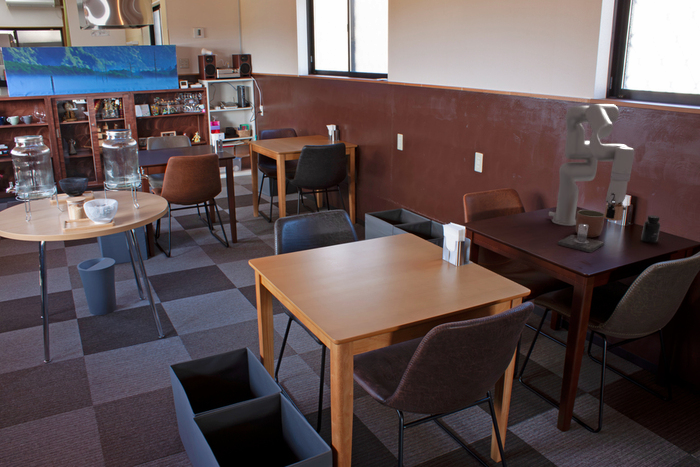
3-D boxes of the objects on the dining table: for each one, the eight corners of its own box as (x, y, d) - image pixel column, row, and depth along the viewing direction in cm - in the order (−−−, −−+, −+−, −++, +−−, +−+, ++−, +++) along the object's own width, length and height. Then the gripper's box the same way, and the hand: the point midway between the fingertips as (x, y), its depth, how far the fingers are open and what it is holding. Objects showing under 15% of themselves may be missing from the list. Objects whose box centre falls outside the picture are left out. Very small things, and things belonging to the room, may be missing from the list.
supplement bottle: (655, 244, 252) (660, 219, 248) (639, 241, 256) (644, 216, 252) (658, 240, 257) (663, 216, 253) (642, 237, 261) (646, 213, 257)
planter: (607, 237, 261) (611, 215, 258) (587, 240, 257) (590, 217, 253) (587, 230, 272) (591, 208, 269) (568, 232, 268) (571, 211, 264)
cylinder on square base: (557, 244, 250) (560, 224, 247) (571, 237, 260) (574, 218, 257) (590, 252, 240) (593, 232, 237) (603, 245, 250) (607, 225, 247)
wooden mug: (601, 218, 238) (603, 204, 236) (607, 214, 243) (610, 201, 241) (620, 222, 232) (623, 208, 231) (626, 218, 237) (629, 205, 235)
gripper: (618, 172, 240) (611, 210, 246) (603, 178, 228) (596, 218, 234) (636, 174, 235) (629, 214, 241) (621, 181, 223) (614, 222, 229)
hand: (613, 216), depth 238 cm, fingers closed on wooden mug, 7 cm apart
